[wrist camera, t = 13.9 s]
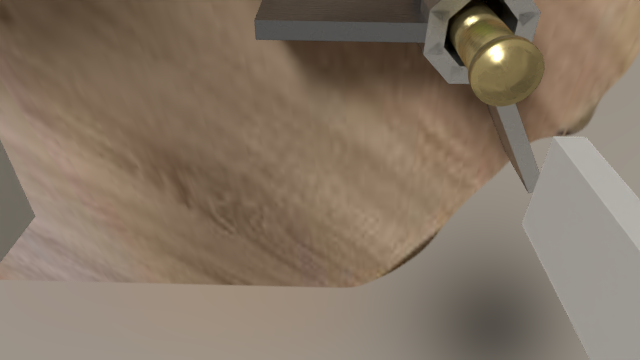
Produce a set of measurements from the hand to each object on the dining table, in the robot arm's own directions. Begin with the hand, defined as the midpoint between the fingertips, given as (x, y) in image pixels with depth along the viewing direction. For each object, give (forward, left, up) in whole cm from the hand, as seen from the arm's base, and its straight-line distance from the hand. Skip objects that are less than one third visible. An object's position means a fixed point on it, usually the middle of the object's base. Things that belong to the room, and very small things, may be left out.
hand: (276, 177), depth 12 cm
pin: (+14, -6, -37) cm, 40 cm away
